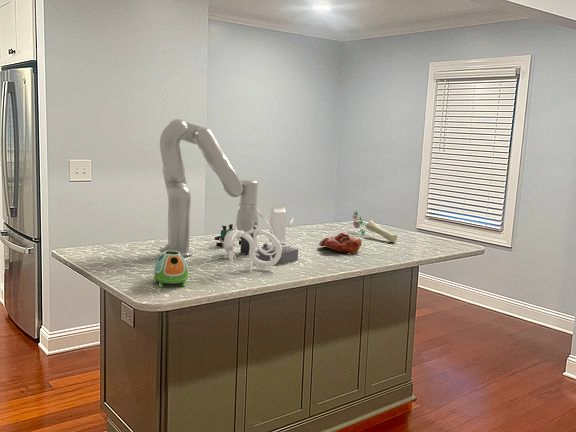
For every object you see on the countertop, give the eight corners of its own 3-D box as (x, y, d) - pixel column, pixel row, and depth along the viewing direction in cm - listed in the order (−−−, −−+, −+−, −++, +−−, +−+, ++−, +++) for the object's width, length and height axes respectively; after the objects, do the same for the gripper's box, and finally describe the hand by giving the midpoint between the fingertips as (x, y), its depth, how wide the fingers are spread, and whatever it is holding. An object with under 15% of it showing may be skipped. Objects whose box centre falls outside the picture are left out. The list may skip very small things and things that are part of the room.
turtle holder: (180, 274, 223) (181, 245, 221) (192, 287, 207) (192, 255, 205) (148, 276, 218) (149, 246, 216) (157, 290, 202) (158, 257, 200)
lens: (246, 254, 260) (247, 232, 259) (237, 252, 263) (238, 230, 262) (254, 252, 264) (255, 231, 263) (245, 250, 268) (246, 229, 266)
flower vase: (385, 256, 304) (342, 231, 329) (401, 248, 310) (358, 223, 335) (385, 237, 298) (342, 213, 324) (402, 229, 304) (358, 206, 329)
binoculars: (222, 223, 284) (237, 224, 278) (223, 244, 285) (238, 245, 279) (209, 225, 277) (224, 226, 271) (210, 246, 278) (225, 248, 272)
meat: (310, 246, 285) (311, 227, 284) (346, 244, 294) (347, 225, 293) (331, 256, 267) (332, 235, 265) (368, 253, 276) (370, 233, 274)
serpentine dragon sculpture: (291, 254, 261) (280, 200, 258) (319, 255, 245) (307, 198, 242) (210, 282, 237) (196, 224, 234) (234, 286, 220) (220, 223, 217)
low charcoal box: (282, 264, 247) (283, 248, 246) (258, 258, 255) (258, 243, 254) (297, 260, 255) (298, 244, 254) (273, 254, 264) (274, 239, 263)
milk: (269, 248, 277) (270, 203, 273) (280, 247, 279) (282, 203, 275) (273, 251, 271) (274, 205, 268) (285, 250, 273) (286, 205, 270)
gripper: (229, 205, 263) (227, 243, 266) (256, 210, 252) (254, 250, 255) (240, 203, 269) (238, 241, 271) (267, 209, 258) (265, 247, 261)
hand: (246, 245), depth 263 cm, fingers closed on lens, 5 cm apart
